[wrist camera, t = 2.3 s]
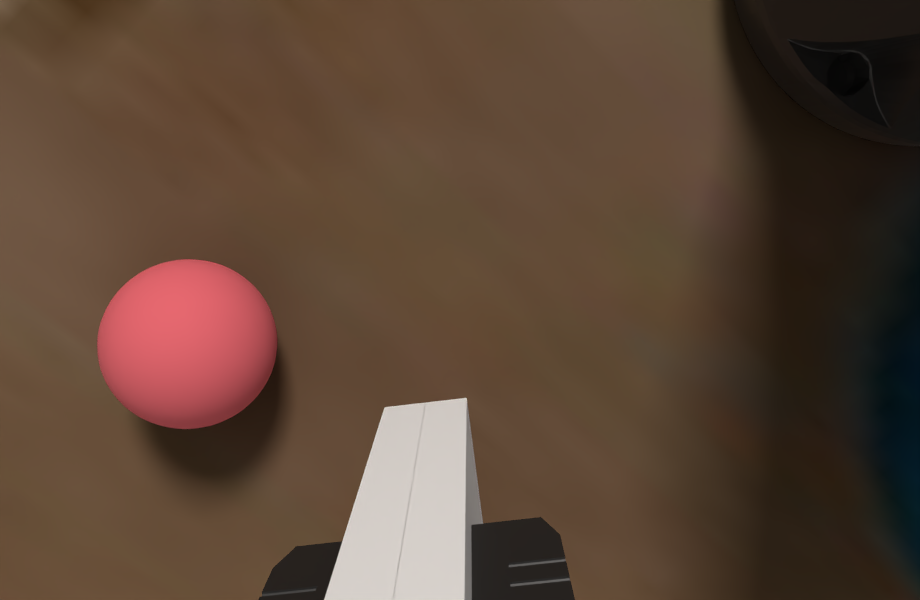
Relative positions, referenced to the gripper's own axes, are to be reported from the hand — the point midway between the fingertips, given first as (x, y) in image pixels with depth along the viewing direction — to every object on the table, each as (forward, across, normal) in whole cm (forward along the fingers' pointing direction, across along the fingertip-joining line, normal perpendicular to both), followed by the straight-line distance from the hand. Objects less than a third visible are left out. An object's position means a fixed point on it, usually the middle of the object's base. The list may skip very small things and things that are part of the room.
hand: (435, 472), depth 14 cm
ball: (+13, +9, 0) cm, 16 cm away
